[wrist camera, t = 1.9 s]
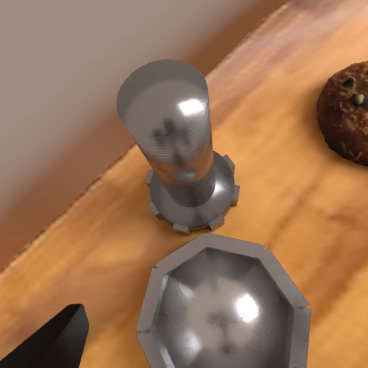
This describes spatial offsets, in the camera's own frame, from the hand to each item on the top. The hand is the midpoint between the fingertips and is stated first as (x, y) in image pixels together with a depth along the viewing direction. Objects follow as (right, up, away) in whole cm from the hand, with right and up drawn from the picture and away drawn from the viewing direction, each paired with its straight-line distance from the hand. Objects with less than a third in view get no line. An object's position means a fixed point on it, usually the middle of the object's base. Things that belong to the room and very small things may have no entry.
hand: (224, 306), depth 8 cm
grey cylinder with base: (0, +3, +15) cm, 15 cm away
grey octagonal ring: (+2, -6, +11) cm, 13 cm away
